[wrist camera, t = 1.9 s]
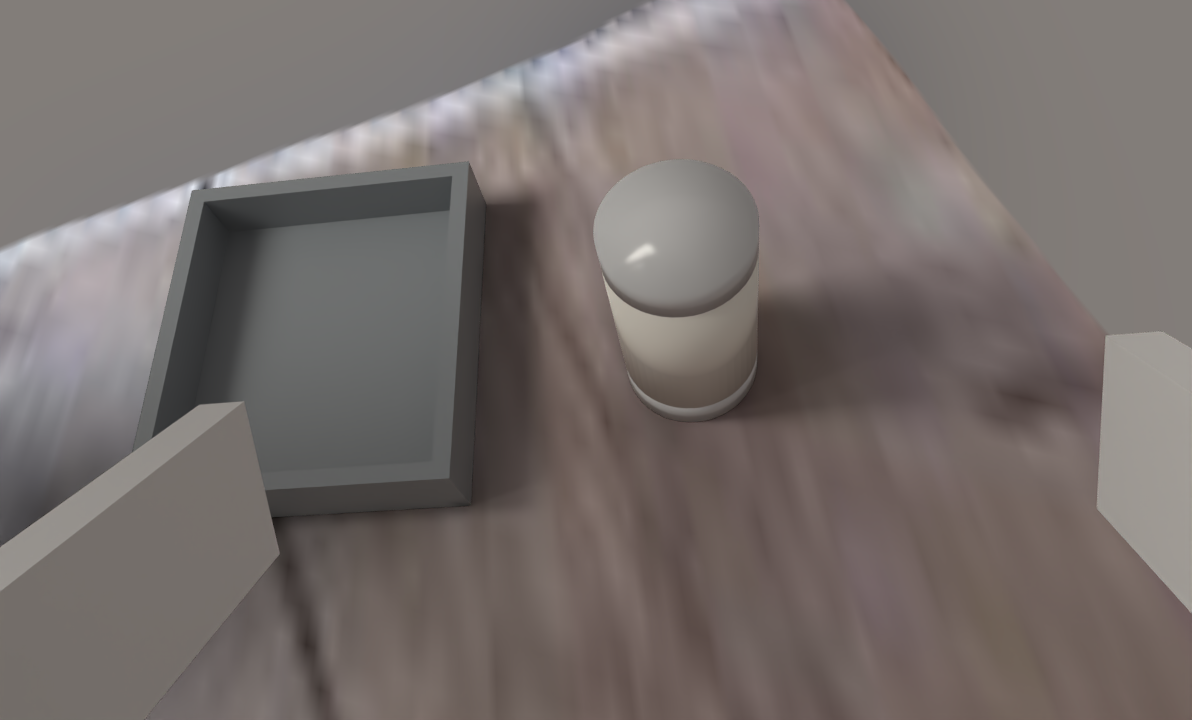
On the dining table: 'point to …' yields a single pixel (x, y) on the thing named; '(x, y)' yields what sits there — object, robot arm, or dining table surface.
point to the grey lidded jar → (683, 285)
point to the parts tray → (333, 334)
